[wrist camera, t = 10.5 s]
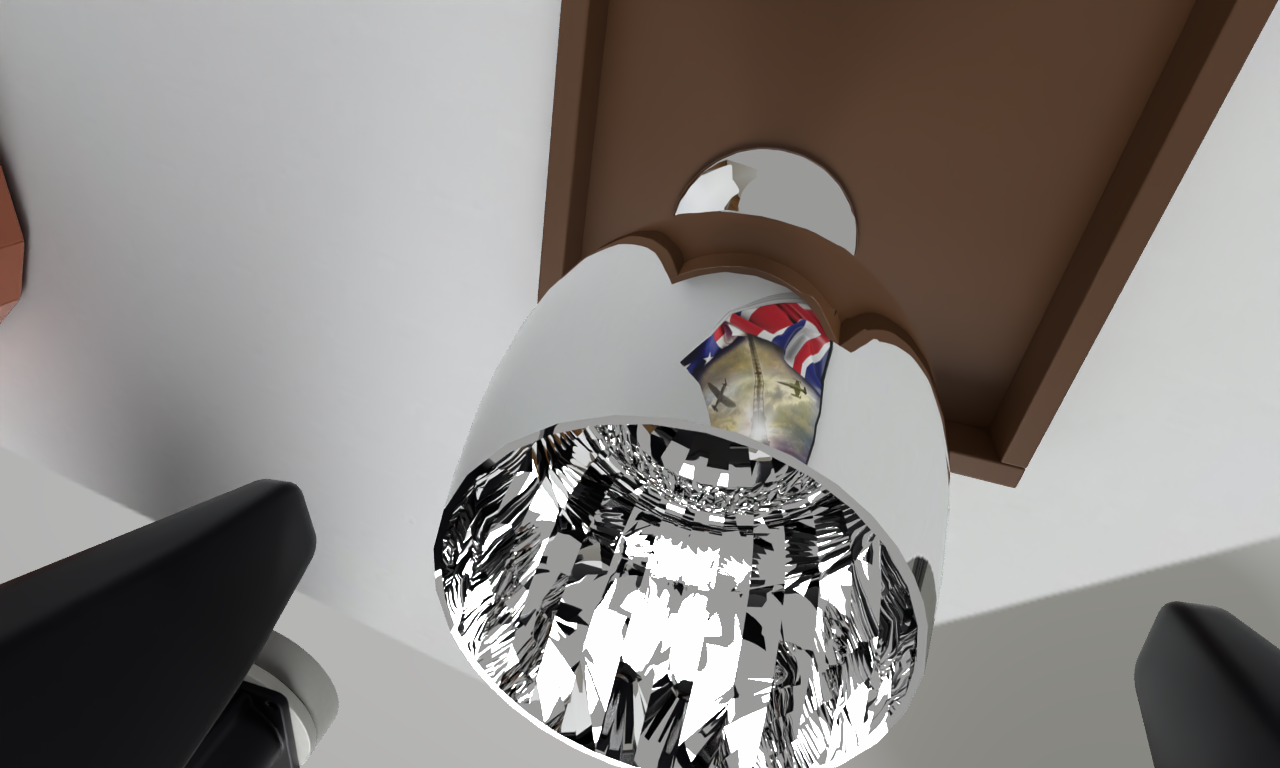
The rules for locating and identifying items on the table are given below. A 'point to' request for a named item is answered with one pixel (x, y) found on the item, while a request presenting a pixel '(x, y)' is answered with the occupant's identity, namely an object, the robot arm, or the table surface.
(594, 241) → the tray
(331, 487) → the table surface
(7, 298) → the bowl
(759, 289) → the wineglass
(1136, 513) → the table surface
